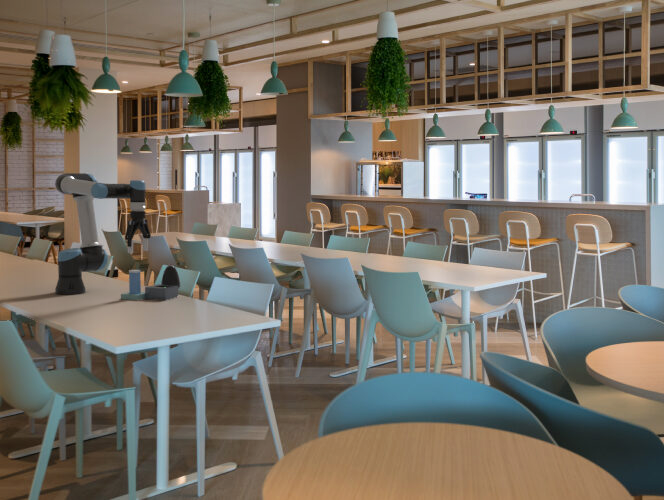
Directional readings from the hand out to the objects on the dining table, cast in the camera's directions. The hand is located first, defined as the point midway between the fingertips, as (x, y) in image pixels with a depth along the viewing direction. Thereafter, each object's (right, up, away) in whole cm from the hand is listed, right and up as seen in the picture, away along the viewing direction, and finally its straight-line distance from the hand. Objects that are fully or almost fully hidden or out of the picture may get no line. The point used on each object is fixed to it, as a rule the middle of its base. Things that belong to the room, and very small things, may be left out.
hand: (138, 252), depth 355 cm
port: (+12, -24, +2) cm, 27 cm away
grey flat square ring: (-2, -24, 0) cm, 24 cm away
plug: (-2, -24, 0) cm, 24 cm away
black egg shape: (+13, -23, +18) cm, 31 cm away
